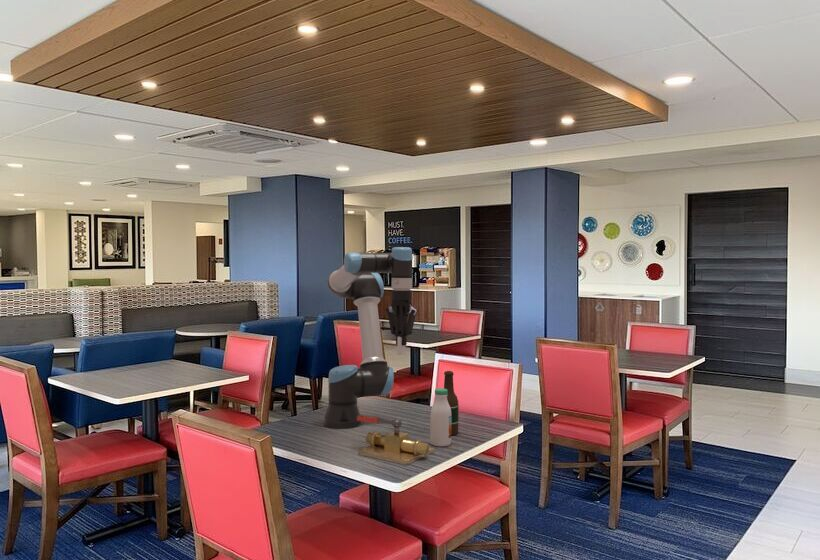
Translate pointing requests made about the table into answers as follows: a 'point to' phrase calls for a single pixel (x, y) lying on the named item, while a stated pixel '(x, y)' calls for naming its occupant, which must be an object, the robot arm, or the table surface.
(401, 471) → the table surface
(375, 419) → the lever
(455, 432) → the beer bottle
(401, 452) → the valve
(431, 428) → the milk bottle
